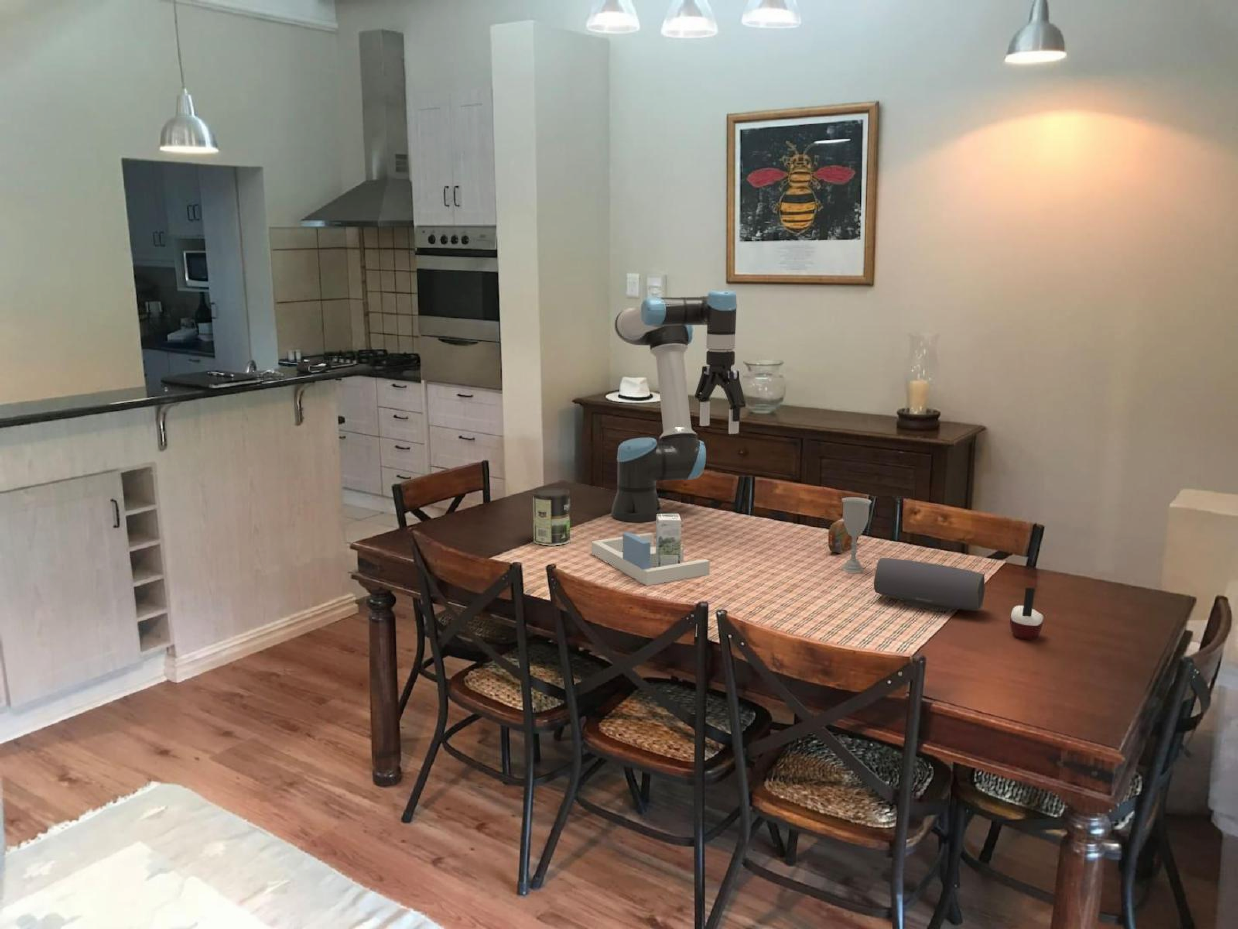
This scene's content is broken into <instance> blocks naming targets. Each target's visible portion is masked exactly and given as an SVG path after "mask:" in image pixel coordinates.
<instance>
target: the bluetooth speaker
mask: <svg viewBox="0 0 1238 929" xmlns="http://www.w3.org/2000/svg"><path fill="white" fill-rule="evenodd" d="M876 564H877V565H876V569H875V573H874V574H875V575H874V579H873V590H874V592H875V593H876V594H879V595H883V596H884V597H885V596H886V597H890V598H895V599H898V600H902V601H903V603H904V604H905V605H908V606H912V607H917V608H922V609H929V610H932V611H933V610H934V611H939V612H951V610H952V609H953V610H954V609H955V610H965V611H976V612H979V611H980V610H981V608H982V606H983V603H984V598H985V590H986V584H985V581H986V580H985V577H986V576H985V574H984V573H981V572H977V571H975V570H974V571H973V570H969V569H964V568H959V567H955V566H954V567H953V566H948V565H943V564H939V563H938V564H937V563H930V562H926V561H925V562H923V561H917V560H908V559H900V558H892V557H891V558H889V557H881V558H879V559H878V561H877V563H876Z"/></svg>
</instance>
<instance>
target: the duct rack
mask: <svg viewBox="0 0 1238 929" xmlns="http://www.w3.org/2000/svg"><path fill="white" fill-rule="evenodd" d="M654 536H655V535H654V533H652V532H645V533H644V532H643V533H637V534H634V533H632V532H631V531H630V532H625V533H623V532H622V536H619V537H612V538H611V537H610V538H606V539H604V538H603V539H599V540H592V541H590V542H591V545H590V552H591V553H590V554H591V555H592V556H594V555H595V556H596V557H595V556H594V557H595V558H597V557H598V558H597V559H599V558H600V559H599V560H601V559H602V560H603V561H602V560H601V561H602V562H604V561H606V562H607V563H606V562H605V563H606V564H608V563H609V564H610V566H611V565H613V566H614V567H613V566H612V567H613V568H615V569H616V570H618V569H619V571H620V572H622V573H624V574H625V575H627V576H629V577H631V578H632V579H634V578H635V579H634V580H636V581H638V582H640V583H641V584H643V585H644V586H646V587H648V586H653V585H654V586H655V585H660V584H664V582H666V583H670V582H671V583H672V582H676V581H680V580H681V579H682V580H686V579H685V578H688V579H693V578H699V577H704V576H709V575H710V572H711V571H710V568H711V567H710V566H711V562H710V560H708V559H706V558H703V559H697V560H691V561H684V552H685V551H684V548H683V547H681V555H680V563H679V564H673V565H667V566H661V567H656V546H654V543H655V542H654V541H655V540H654ZM622 551H623V552H622ZM609 564H608V565H609Z"/></svg>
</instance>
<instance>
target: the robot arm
mask: <svg viewBox="0 0 1238 929" xmlns="http://www.w3.org/2000/svg"><path fill="white" fill-rule="evenodd" d="M737 308H738V304H737V294H736V292H735V291H733V290H710V291H709V292H708V294H707V295H706V296H704V295H703V296H693V297H692V296H683V297H682V296H681V297H666V296H665V297H661V296H660V297H659V296H654V297H646V298H644V299H643V301H642V303H641V306H639V307H629V308H626V309H624V310H621V311H620V312H619V313H618V314H617V316H616V318H615V321H614V330H615V333H616V335H617V337H618V338H619V339H621V340H622V341H624V342H626V343H627V344H631V345H634V346H649V351H650V353H651V355H653V356H654V357H655V363H656V370H657V379H658V380H657V381H658V390H659V399H660V410H661V419H662V422H661V423H662V431H663V432H662V433H661V435H660V436H659V438H658V440H659V441H658V442H657V439H655V438H654V437H637V438H631V439H627V440H625V441H622V442H621V443H620V444H619V445H618V448H617V455H616V456H617V457H616V461H617V488H616V490H617V492H616V493H615V497H614V500H613V503H612V506H611V518H613V519H615V520H619V521H623V522H628V523H629V522H631V523H645V522H646V523H647V522H652V521H656V517H657V514H662V506H661V503H660V500H659V497H658V493H657V482H668V481H682V480H683V481H688V480H694V479H698V478H700V476H702V474H703V472H704V469H705V466H706V461H707V460H706V458H707V450H706V446H705V442H704V441H703V440H700V439H699V440H698V433H696V432H695V431H694V430H693V429H692V422H691V413H690V412H691V411H690V403H689V395H688V386H687V385H688V384H687V375H686V374H687V373H686V366H685V365H686V364H685V357H684V356H685V355H684V354H685V353H686V351H687V350H688V345H690V344H691V343H692V340H693V336H694V335H693V332H694V330H693V326H706V345H705V346H706V349H707V351H706V352H705V353H706V357H705V358H706V361H705V362H706V365H704V366H702V367H701V375H700V377H699V381H698V385H697V387H696V390H695V394H694V398H695V399H697V400H698V402H699V426H701V427H707V426H710V422H711V420H710V416H711V414H710V413H711V411H710V410H711V402H710V401H711V400H710V398H711V396H712V394H713V392H714V391H715V389H716V387H717V386H718V387H720V388H721V389H723V391H724V393H725V394H724V395H725V396H726V398H727V401H728V403H729V405H730V407H729V409H728V434H729V435H733V434H739V433H740V432H739V431H740V430H739V429H740V417H741V415H740V414H741V409H743V408H746V406H747V405H746V401H745V396H744V392H743V389H742V385H741V380H740V371H739V370H732V367H733V366H734V365H735V362H736V352H735V351H734V350H735V349H736V331H737V330H736V326H737Z"/></svg>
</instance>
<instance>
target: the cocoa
mask: <svg viewBox="0 0 1238 929" xmlns="http://www.w3.org/2000/svg"><path fill="white" fill-rule="evenodd" d="M1035 592H1036V589H1035V588H1033V587H1026V588H1025V593H1024V601H1023V605H1016V606H1014V607H1013V608H1012V609H1011V610H1012V611H1011V613H1010V619H1009V626H1010V631H1011V632H1012V634H1013V635H1014V636H1015V637H1017V638H1018V639H1022V640H1026V641H1027V640H1033V639H1036V638H1037V637H1038V636H1039V635H1040V634H1041V631H1042V628H1043V624H1044V623H1043V622H1044V616H1043V614H1042V613H1040V612H1038V611H1037V610H1036V609H1033V607H1034V599H1035Z"/></svg>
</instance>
